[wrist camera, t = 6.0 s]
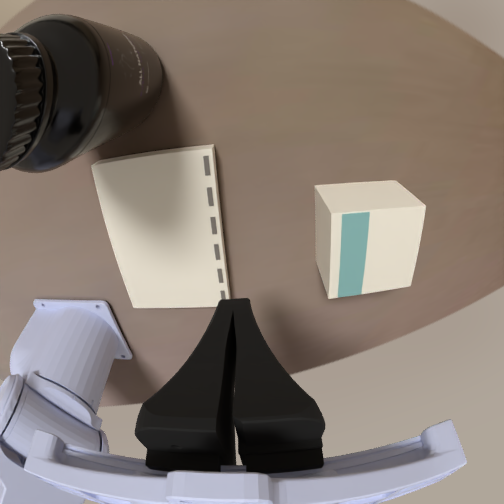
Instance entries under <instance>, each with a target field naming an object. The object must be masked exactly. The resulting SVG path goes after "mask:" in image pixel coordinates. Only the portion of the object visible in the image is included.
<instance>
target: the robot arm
mask: <svg viewBox="0 0 504 504" xmlns="http://www.w3.org/2000/svg"><path fill="white" fill-rule="evenodd" d="M33 304H34V306H35V308H36V310H35V312H34V313H33V315H32V317H31V318H30V320H29V321H28V323H27V325H26V326H25V328H24V330H23V331H22V333H21V335H20V336H19V338H18V340H17V341H16V343H15V345H14V347H13V349H12V352H11V357H10V371H11V375H9V376H8V377H7V378H6V379H5V380H4V382H3V384H2V385H1V387H0V504H82V503H84V501H85V499H88V500H91V501H94V502H97V503H100V504H378V503H381V502H384V501H388V500H391V499H394V498H396V497H399V496H402V495H405V494H407V493H410V492H413V491H416V490H418V489H421V488H423V487H426V486H428V485H431V484H433V483H436V482H438V481H440V480H442V479H444V478H445V477H447V476H449V475H450V474H452V473H453V472H455V471H456V470H458V469H459V468H461V467H462V466H464V465H465V464H466V463H467V461H466V457H465V455H464V452H463V449H462V446H461V443H460V441H459V438H458V435H457V433H456V430H455V427H454V425H453V422H452V420H451V419H449V420H446V421H444V422H441V423H438V424H435V425H433V426H431V427H428V428H427V429H425V430H424V431H423V432H422V434H421V435H419V436H416V437H413V438H410V439H407V440H403V441H400V442H397V443H393V444H389V445H386V446H382V447H378V448H374V449H370V450H365V451H361V452H356V453H351V454H346V455H341V456H335V457H329V458H323V453H322V447H323V444H322V439H321V437H322V435H323V432H324V430H325V421H324V418H323V416H322V413H321V411H320V409H319V407H318V406H317V404H316V402H315V400H314V399H313V398H311V397H310V396H309V395H308V394H307V393H306V392H305V391H304V390H303V389H302V388H301V387H300V386H299V385H298V384H297V383H296V382H295V381H294V380H293V379H292V378H291V377H290V375H289V374H288V373H287V372H286V371H285V369H284V368H283V367H282V366H281V364H280V363H279V362H278V360H277V359H276V357H275V356H274V354H273V353H272V351H271V350H270V348H269V347H268V345H267V343H266V341H265V340H264V338H263V336H262V334H261V332H260V330H259V327H258V325H257V323H256V321H255V318H254V315H253V312H252V309H251V304H250V300H249V299H248V298H241V299H221V300H220V301H219V302H218V305H217V308H216V310H215V313H214V315H213V317H212V320H211V322H210V324H209V326H208V328H207V330H206V332H205V333H204V335H203V337H202V338H201V340H200V342H199V343H198V345H197V347H196V348H195V350H194V351H193V353H192V354H191V356H190V357H189V358H188V360H187V361H186V362H185V363H184V365H183V366H182V367H181V368H180V370H179V371H178V372H177V373H176V374H175V375H174V376H173V377H172V378H171V379H170V380H169V381H168V382H167V383H166V384H165V385H164V386H163V387H162V388H161V389H160V390H159V391H158V392H157V393H155V394H154V395H153V396H152V397H151V398H149V399H148V400H147V401H146V402H144V403H143V405H142V407H141V410H140V413H139V415H138V418H137V423H136V428H135V436H136V437H137V439H138V440H139V441H140V442H141V443H142V444H143V445H144V446H145V447H146V448H147V456H146V460H144V459H136V458H131V457H125V456H119V455H114V454H109V446H108V440H107V437H106V434H105V433H104V432H103V431H102V430H101V429H100V427H101V423H102V419H101V418H99V417H98V416H96V414H97V411H98V407H99V404H100V401H101V397H102V394H103V391H104V388H105V385H106V381H107V378H108V375H109V372H110V369H111V366H112V363H113V360H114V359H127V360H130V359H132V353H131V351H130V349H129V347H128V345H127V343H126V341H125V339H124V337H123V335H122V333H121V331H120V329H119V327H118V324H117V322H116V320H115V318H114V316H113V313H112V311H111V309H110V307H109V305H108V303H107V302H106V301H98V300H49V299H35V300H34V302H33ZM98 305H99V306H98ZM234 387H235V392H234ZM235 427H236V431H237V436H238V453H239V455H240V458H241V461H242V464H243V465H236V450H235Z"/></svg>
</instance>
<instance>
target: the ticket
mask: <svg viewBox="0 0 504 504" xmlns="http://www.w3.org/2000/svg"><path fill="white" fill-rule="evenodd" d="M91 167H92V172H93V176H94V181H95V185H96V189H97V193H98V197H99V201H100V205H101V209H102V213H103V216H104V220H105V223H106V227H107V230H108V234H109V237H110V240H111V244H112V247H113V250H114V253H115V256H116V259H117V263H118V266H119V268H120V271H121V274H122V277H123V280H124V283H125V286H126V288H127V291H128V294H129V297H130V299H131V302H132V305H133V307H134V308H190V307H217V305H218V302H219V301H220V300H221V299H230V288H229V280H228V272H227V263H226V255H225V246H224V237H223V228H222V219H221V209H220V200H219V190H218V180H217V170H216V159H215V148H214V144H213V145H202V146H192V147H183V148H175V149H167V150H159V151H152V152H145V153H138V154H132V155H126V156H120V157H115V158H109V159H104V160H99V161H97V162H96V163H94V164H93V165H91Z"/></svg>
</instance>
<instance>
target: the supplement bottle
mask: <svg viewBox="0 0 504 504" xmlns="http://www.w3.org/2000/svg"><path fill="white" fill-rule="evenodd" d="M162 80H163V75H162V67H161V63H160V60H159V58H158V56H157V54H156V52H155V51H154V49H153V48H152V47H151V46H150V45H149V44H148V43H147V42H145V41H144V40H142V39H141V38H139V37H137V36H134V35H132V34H129V33H127V32H124V31H121V30H118V29H115V28H112V27H109V26H106V25H103V24H100V23H97V22H94V21H90V20H87V19H83V18H80V17H76V16H72V15H65V14H51V15H46V16H42V17H39V18H36V19H34V20H32V21H30V22H28V23H26V24H24V25H23V26H21V27H20V28H19V29H17V30H16V31H15V32H12V33H6V34H0V171H2V170H6V169H9V168H11V167H12V168H14V169H17V170H20V171H23V172H28V173H42V172H47V171H51V170H53V169H56V168H58V167H60V166H62V165H64V164H66V163H68V162H70V161H72V160H74V159H75V158H77V157H79V156H81V155H83V154H85V153H86V152H88V151H90V150H92V149H94V148H96V147H98V146H100V145H102V144H104V143H106V142H108V141H110V140H112V139H114V138H116V137H118V136H120V135H122V134H124V133H126V132H128V131H130V130H132V129H134V128H135V127H137V126H138V125H139V124H141V123H142V122H143V121H144V120H145V119H146V118H147V117H148V116H149V114H150V113H151V112H152V110H153V109H154V107H155V105H156V103H157V101H158V99H159V96H160V93H161V88H162Z"/></svg>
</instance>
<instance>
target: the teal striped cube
mask: <svg viewBox="0 0 504 504" xmlns="http://www.w3.org/2000/svg"><path fill="white" fill-rule="evenodd" d="M425 209H426V205H424V204H423V203H422V202H421V201H420V200H419V199H417V198H416V197H415V196H414V195H413V194H411V193H410V192H409V191H408V190H407V189H405V188H404V187H403V186H402V185H401V184H399V183H398V182H397V181H374V182H357V183H342V184H328V185H316V186H315V224H316V263H317V266H318V269H319V272H320V275H321V278H322V281H323V284H324V287H325V290H326V293H327V296H328V299H332V298H339V297H346V296H353V295H359V294H366V293H372V292H379V291H385V290H391V289H397V288H403V287H408V286H411V282H412V277H413V273H414V269H415V264H416V260H417V255H418V250H419V245H420V239H421V234H422V228H423V222H424V216H425Z"/></svg>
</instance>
